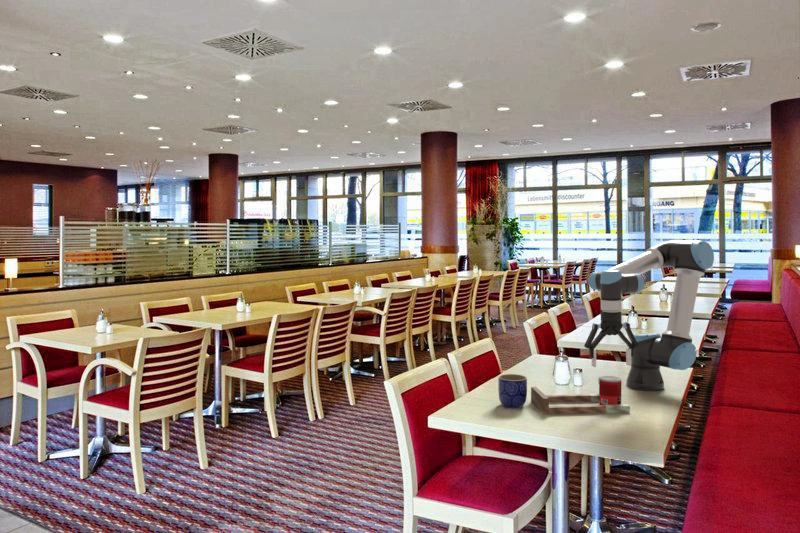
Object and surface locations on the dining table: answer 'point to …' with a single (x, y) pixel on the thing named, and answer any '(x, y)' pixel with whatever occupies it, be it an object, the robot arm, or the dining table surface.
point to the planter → (512, 390)
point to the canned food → (610, 390)
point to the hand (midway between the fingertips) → (611, 365)
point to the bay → (543, 405)
